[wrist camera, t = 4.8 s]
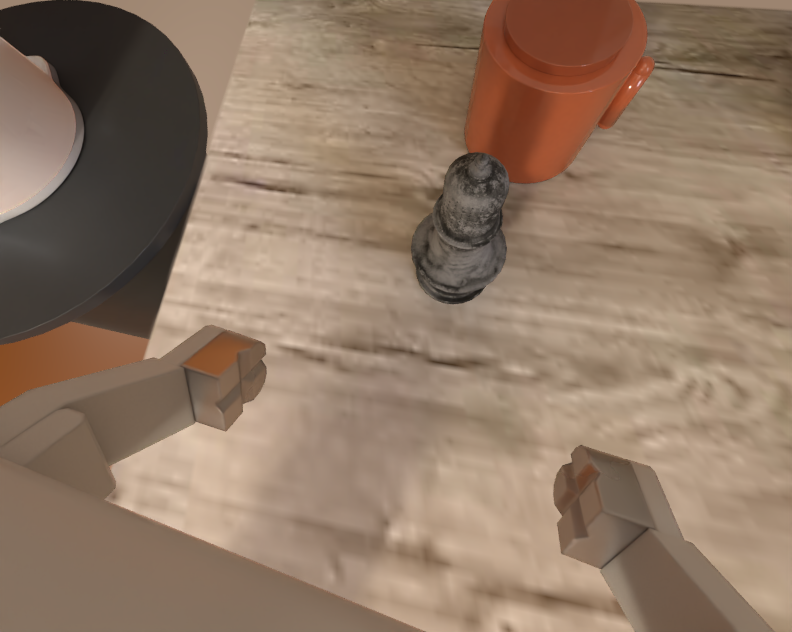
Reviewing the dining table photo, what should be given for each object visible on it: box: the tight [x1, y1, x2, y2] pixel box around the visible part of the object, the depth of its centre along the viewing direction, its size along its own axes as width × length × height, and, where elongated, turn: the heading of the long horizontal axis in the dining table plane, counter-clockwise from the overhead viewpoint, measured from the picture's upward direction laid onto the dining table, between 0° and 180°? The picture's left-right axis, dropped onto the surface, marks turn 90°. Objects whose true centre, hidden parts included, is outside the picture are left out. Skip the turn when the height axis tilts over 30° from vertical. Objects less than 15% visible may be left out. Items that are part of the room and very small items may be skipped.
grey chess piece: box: [411, 152, 509, 304], centre depth 19 cm, size 6×6×12 cm
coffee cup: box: [464, 0, 655, 183], centre depth 23 cm, size 10×9×9 cm
